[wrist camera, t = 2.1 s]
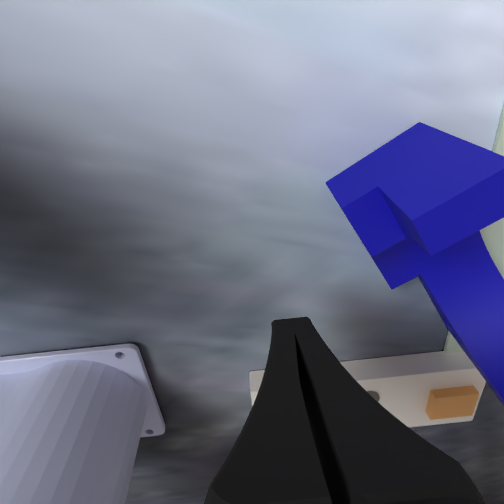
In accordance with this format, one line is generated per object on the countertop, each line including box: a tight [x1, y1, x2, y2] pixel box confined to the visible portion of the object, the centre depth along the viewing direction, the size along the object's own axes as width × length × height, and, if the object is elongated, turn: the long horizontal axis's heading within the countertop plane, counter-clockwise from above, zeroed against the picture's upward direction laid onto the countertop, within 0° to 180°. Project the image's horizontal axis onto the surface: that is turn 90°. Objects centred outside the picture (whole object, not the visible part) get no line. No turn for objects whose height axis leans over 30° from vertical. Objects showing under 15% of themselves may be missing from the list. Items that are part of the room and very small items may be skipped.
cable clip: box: [326, 122, 504, 405], centre depth 15 cm, size 12×4×6 cm, turn 35°
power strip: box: [249, 351, 486, 427], centre depth 22 cm, size 14×5×2 cm, turn 95°
